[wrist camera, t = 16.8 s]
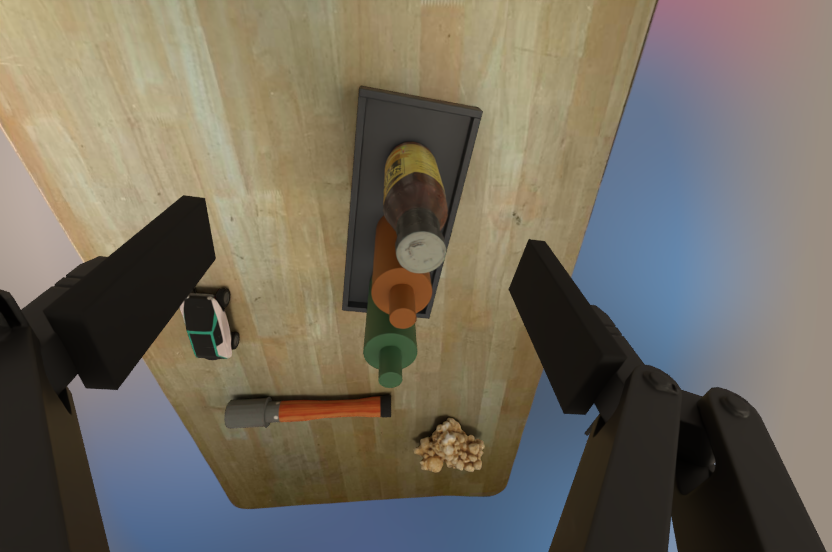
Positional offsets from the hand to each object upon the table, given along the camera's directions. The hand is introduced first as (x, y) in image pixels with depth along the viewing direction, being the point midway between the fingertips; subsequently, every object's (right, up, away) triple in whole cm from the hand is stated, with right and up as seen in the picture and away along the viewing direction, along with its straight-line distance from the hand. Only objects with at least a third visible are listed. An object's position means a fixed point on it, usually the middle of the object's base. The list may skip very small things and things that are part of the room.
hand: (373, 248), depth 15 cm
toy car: (-30, -7, +41) cm, 51 cm away
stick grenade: (-18, -25, +54) cm, 63 cm away
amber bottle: (-1, +5, +34) cm, 34 cm away
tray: (0, +7, +34) cm, 34 cm away
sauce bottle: (+1, +12, +29) cm, 32 cm away
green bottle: (-2, -2, +39) cm, 39 cm away
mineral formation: (+10, -37, +64) cm, 75 cm away
